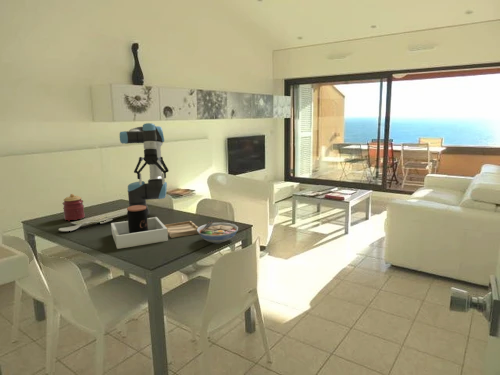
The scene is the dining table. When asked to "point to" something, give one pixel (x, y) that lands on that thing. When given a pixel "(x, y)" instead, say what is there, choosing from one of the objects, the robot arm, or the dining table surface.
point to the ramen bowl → (217, 231)
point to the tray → (181, 229)
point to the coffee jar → (137, 218)
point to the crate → (139, 234)
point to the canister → (73, 208)
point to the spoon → (79, 226)
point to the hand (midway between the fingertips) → (152, 184)
